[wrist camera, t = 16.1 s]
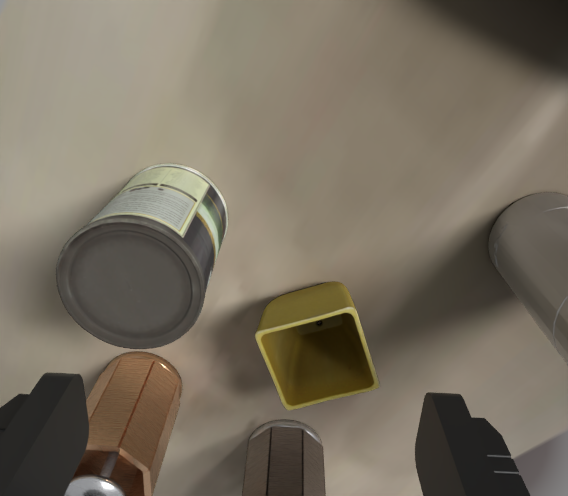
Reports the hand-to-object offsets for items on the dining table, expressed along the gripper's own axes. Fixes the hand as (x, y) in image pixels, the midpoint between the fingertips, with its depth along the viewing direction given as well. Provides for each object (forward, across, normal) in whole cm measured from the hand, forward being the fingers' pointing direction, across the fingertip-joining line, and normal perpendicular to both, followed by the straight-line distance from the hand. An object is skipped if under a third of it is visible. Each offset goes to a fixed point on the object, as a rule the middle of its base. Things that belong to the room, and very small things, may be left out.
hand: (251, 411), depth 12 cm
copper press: (+36, +14, +31) cm, 50 cm away
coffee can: (+37, +10, +10) cm, 39 cm away
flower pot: (+36, -4, +19) cm, 41 cm away
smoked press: (+36, -2, +39) cm, 53 cm away
